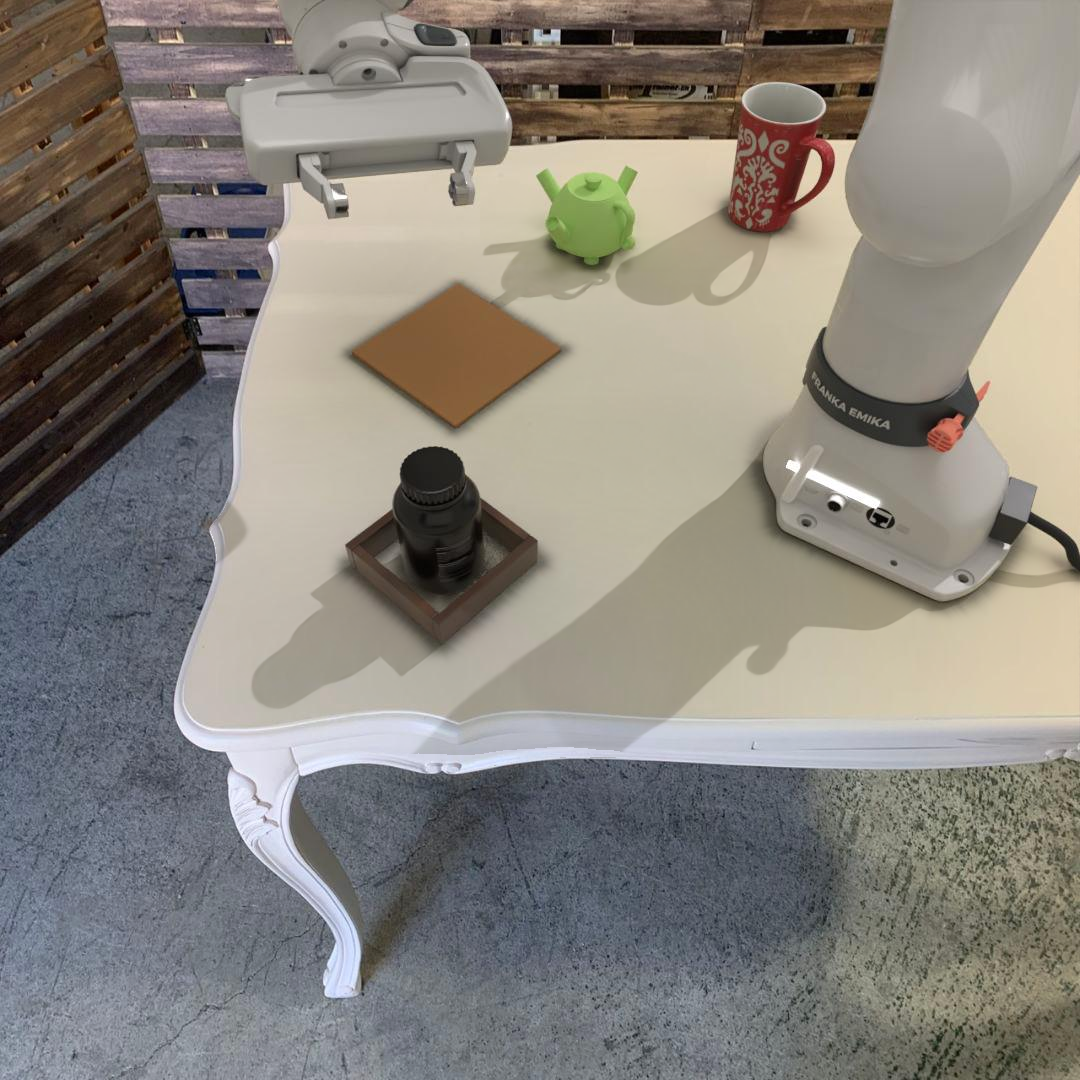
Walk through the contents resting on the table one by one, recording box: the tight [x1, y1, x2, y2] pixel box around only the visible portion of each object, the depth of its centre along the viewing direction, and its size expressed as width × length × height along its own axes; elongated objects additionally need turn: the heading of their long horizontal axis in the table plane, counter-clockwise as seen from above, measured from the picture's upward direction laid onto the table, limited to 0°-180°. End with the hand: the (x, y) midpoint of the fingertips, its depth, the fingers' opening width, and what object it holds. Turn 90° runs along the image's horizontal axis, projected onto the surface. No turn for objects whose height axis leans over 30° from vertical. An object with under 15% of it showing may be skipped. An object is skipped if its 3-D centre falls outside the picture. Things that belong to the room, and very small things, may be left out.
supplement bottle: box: [391, 445, 486, 595], centre depth 71 cm, size 7×7×12 cm
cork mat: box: [351, 283, 562, 429], centre depth 91 cm, size 15×15×1 cm
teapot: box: [535, 165, 639, 266], centre depth 99 cm, size 11×12×8 cm
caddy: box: [344, 497, 539, 645], centre depth 74 cm, size 11×11×3 cm
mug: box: [727, 81, 836, 232], centre depth 100 cm, size 13×9×14 cm
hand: (403, 205), depth 65 cm, fingers open, 8 cm apart
